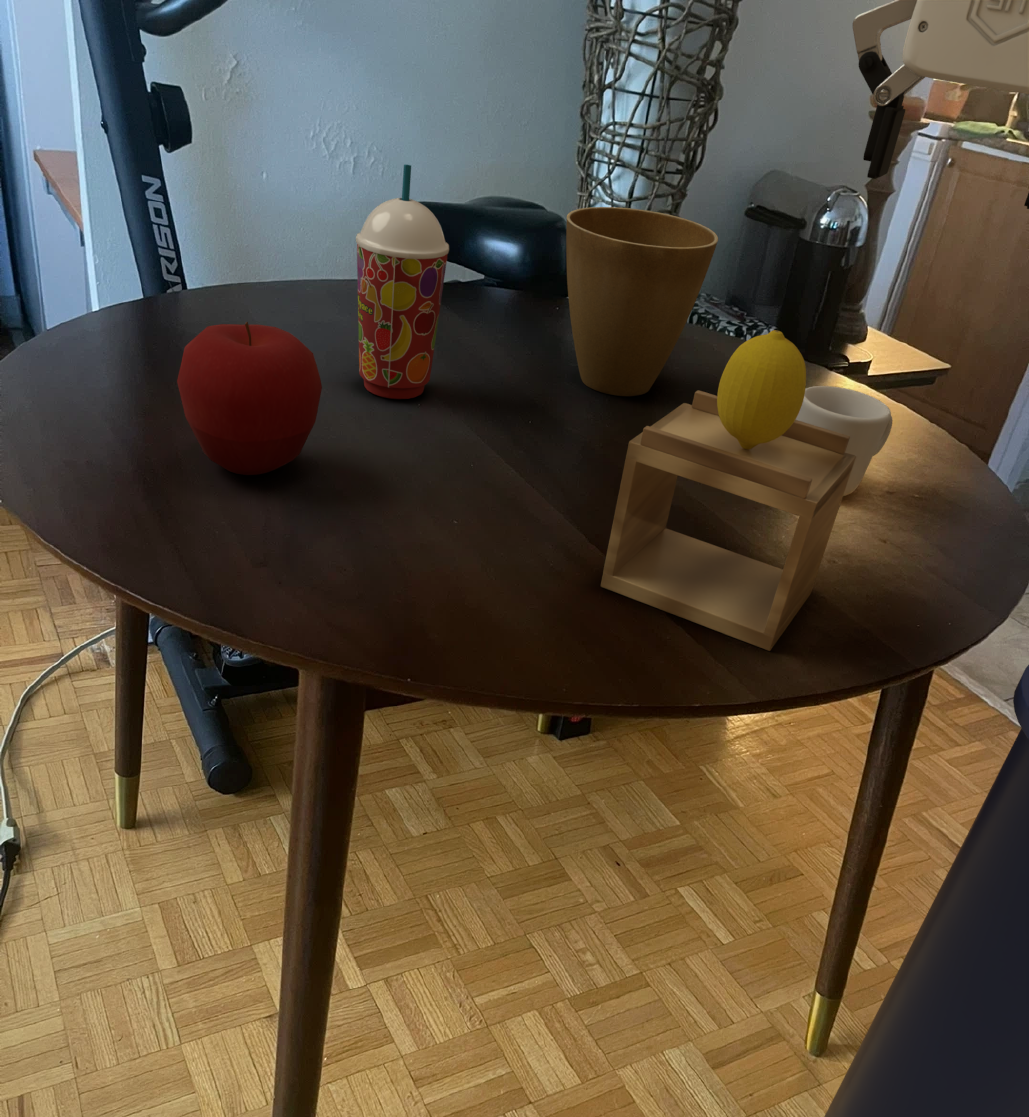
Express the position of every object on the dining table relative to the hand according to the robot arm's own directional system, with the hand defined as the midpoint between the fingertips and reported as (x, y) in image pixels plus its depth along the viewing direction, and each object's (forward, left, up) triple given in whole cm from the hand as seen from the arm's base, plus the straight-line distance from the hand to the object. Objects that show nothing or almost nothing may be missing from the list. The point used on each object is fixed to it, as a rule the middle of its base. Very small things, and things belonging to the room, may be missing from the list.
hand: (952, 191), depth 67 cm
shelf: (+6, +9, -28) cm, 30 cm away
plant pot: (+30, -26, -28) cm, 49 cm away
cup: (+4, -18, -28) cm, 34 cm away
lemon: (+6, +9, -17) cm, 20 cm away
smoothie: (+45, -7, -28) cm, 54 cm away
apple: (+43, +16, -28) cm, 54 cm away
